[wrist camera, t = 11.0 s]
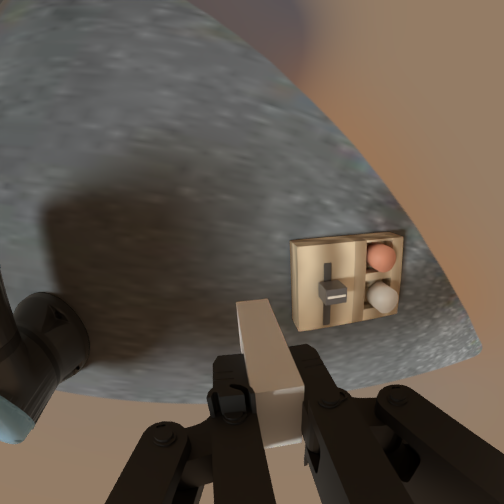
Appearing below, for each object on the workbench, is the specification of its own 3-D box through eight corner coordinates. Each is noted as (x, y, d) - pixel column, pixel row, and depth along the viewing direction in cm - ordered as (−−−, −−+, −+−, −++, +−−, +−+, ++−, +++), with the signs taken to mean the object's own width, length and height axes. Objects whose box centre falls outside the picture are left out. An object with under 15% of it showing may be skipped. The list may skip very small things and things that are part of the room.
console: (292, 319, 44) (299, 332, 40) (289, 240, 41) (297, 247, 37) (384, 303, 45) (397, 313, 41) (389, 231, 42) (404, 237, 38)
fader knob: (318, 296, 38) (326, 305, 35) (318, 282, 38) (326, 290, 35) (337, 293, 39) (346, 302, 36) (338, 279, 38) (347, 287, 35)
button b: (365, 306, 41) (375, 315, 37) (367, 283, 40) (377, 291, 37) (385, 302, 41) (396, 310, 38) (388, 279, 40) (399, 287, 37)
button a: (363, 267, 41) (373, 274, 37) (363, 242, 40) (374, 247, 37) (384, 264, 41) (395, 270, 38) (385, 240, 40) (396, 245, 37)
